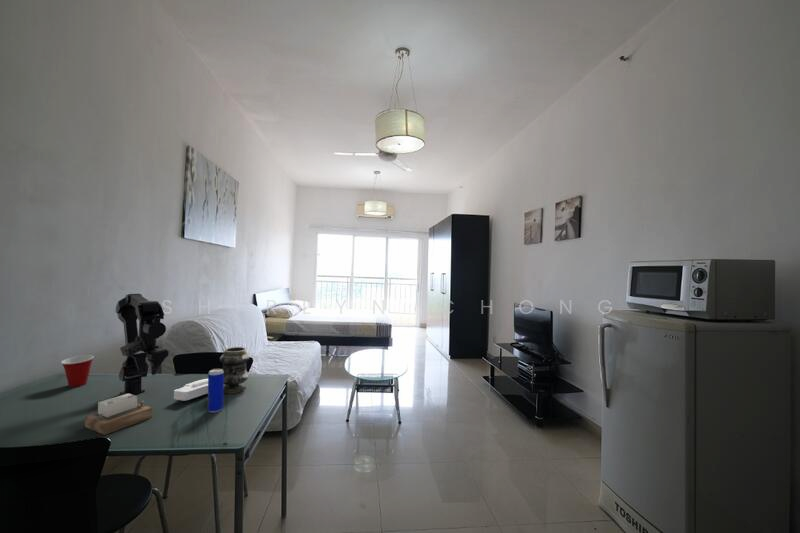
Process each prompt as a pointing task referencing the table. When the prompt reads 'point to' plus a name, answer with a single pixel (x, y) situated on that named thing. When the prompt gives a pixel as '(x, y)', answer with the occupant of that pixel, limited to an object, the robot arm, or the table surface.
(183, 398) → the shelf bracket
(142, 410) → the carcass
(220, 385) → the beverage can
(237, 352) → the apothecary jar
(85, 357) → the plastic cup
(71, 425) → the table surface
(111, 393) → the table surface
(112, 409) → the white block
